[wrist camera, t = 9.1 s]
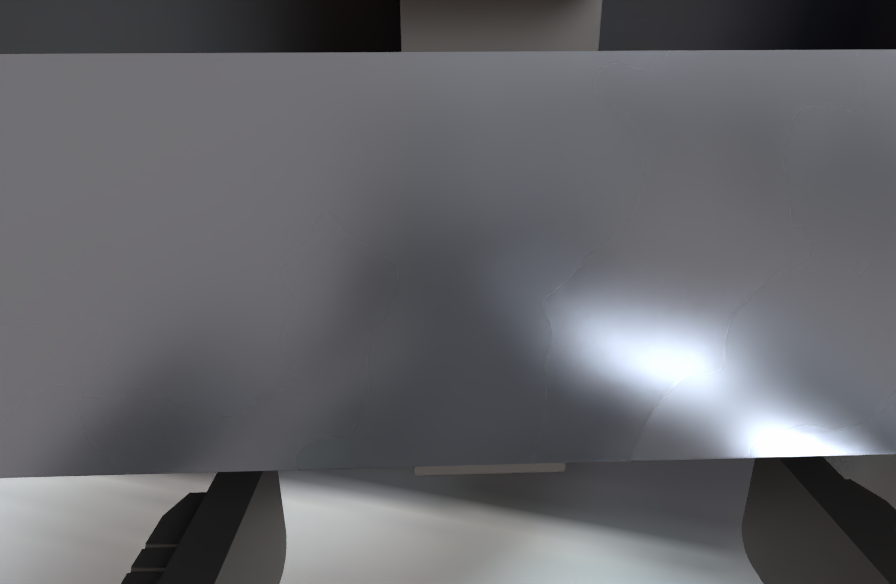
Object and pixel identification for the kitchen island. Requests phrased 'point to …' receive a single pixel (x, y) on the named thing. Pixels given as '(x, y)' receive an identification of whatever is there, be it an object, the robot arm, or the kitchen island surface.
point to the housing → (444, 258)
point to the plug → (498, 30)
